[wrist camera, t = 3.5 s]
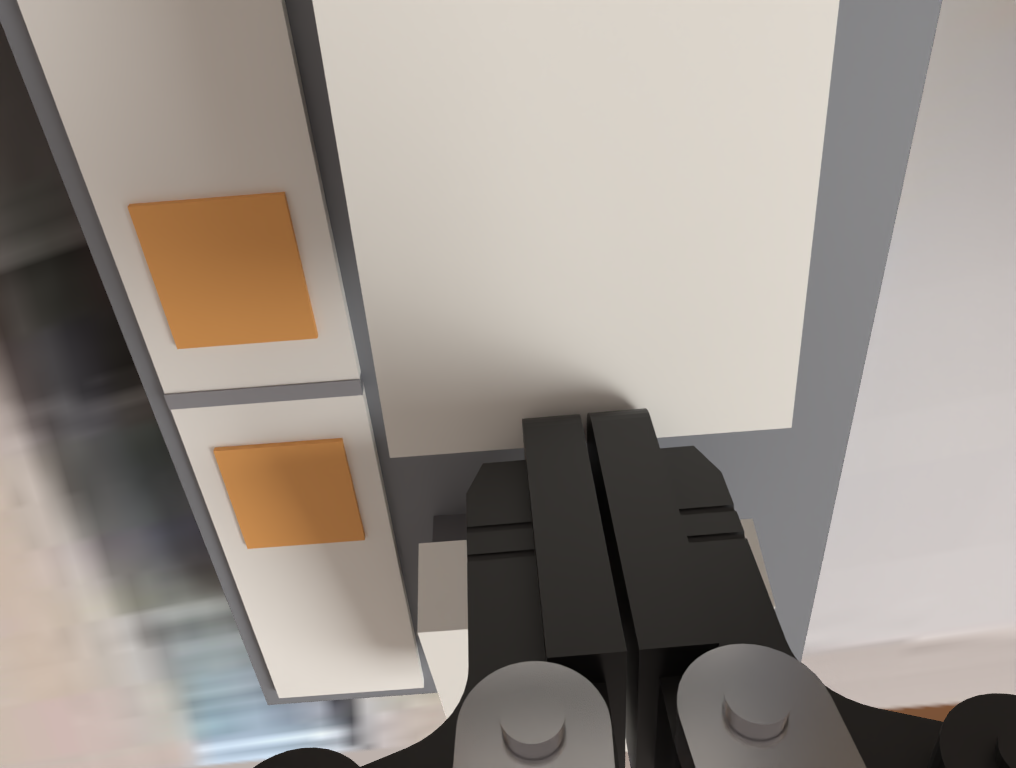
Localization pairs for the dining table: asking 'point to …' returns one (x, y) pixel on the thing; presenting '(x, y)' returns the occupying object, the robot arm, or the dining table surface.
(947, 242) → the dining table surface
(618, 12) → the rocker middle
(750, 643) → the robot arm
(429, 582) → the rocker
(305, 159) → the switch unit
